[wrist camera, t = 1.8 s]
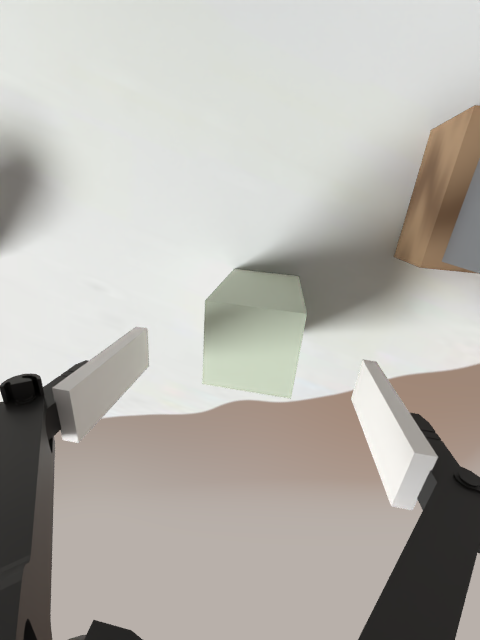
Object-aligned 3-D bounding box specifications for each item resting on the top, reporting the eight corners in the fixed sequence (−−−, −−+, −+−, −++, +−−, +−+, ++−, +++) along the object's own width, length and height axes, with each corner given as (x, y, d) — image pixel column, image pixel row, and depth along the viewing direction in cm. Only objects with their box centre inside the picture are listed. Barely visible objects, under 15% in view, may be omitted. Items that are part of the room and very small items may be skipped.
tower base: (429, 130, 19) (474, 105, 15) (536, 135, 19) (620, 110, 14) (393, 256, 23) (420, 267, 18) (482, 265, 22) (534, 278, 17)
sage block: (234, 268, 25) (205, 300, 16) (298, 276, 24) (307, 313, 15) (230, 326, 27) (202, 383, 18) (288, 335, 27) (290, 398, 18)
